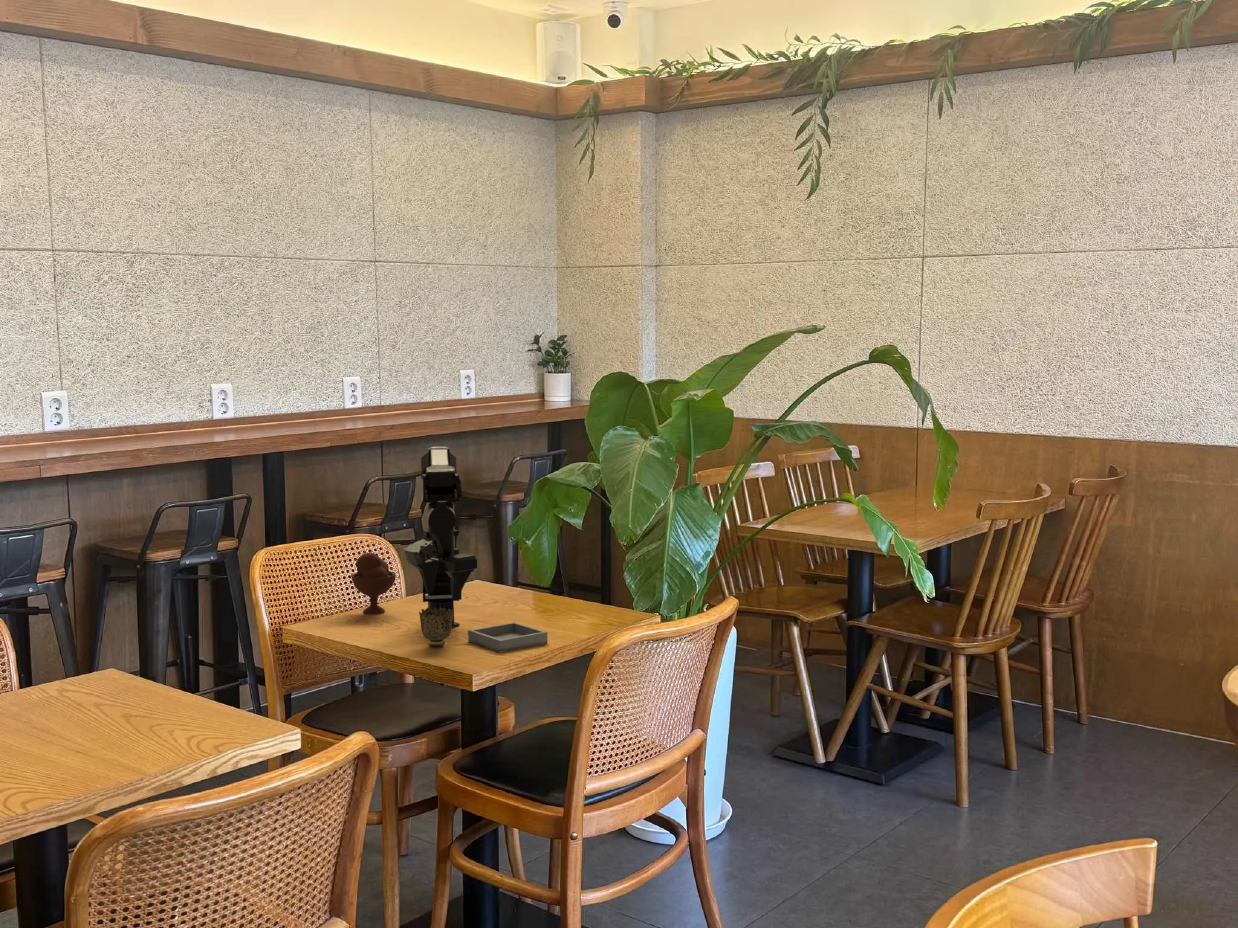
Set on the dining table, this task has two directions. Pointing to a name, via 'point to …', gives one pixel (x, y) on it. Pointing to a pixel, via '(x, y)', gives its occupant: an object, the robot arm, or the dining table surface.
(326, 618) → the dining table surface
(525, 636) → the tray
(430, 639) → the cup
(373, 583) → the ice cream bowl
